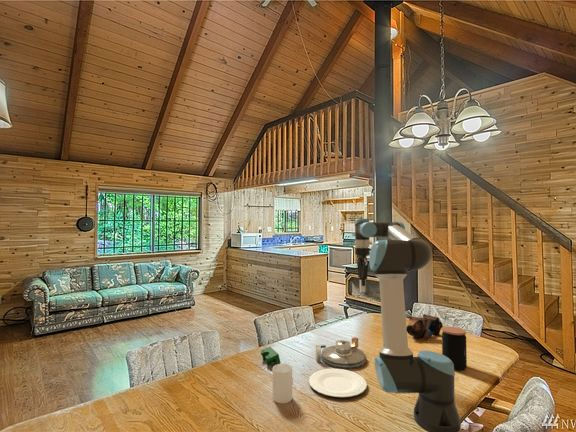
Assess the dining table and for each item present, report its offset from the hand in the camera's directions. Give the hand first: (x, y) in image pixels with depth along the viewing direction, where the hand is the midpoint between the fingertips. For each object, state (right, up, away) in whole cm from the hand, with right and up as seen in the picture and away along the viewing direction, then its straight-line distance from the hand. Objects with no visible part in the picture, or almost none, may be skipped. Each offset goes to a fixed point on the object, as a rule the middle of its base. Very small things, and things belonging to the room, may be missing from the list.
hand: (362, 291), depth 170 cm
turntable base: (-11, -34, -5) cm, 36 cm away
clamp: (-49, -34, -8) cm, 60 cm away
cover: (-11, -31, -5) cm, 33 cm away
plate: (-18, -34, -31) cm, 50 cm away
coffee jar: (+42, -34, -13) cm, 56 cm away
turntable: (-10, -32, -4) cm, 34 cm away
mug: (-43, -33, -40) cm, 67 cm away
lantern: (+43, -35, +30) cm, 63 cm away
